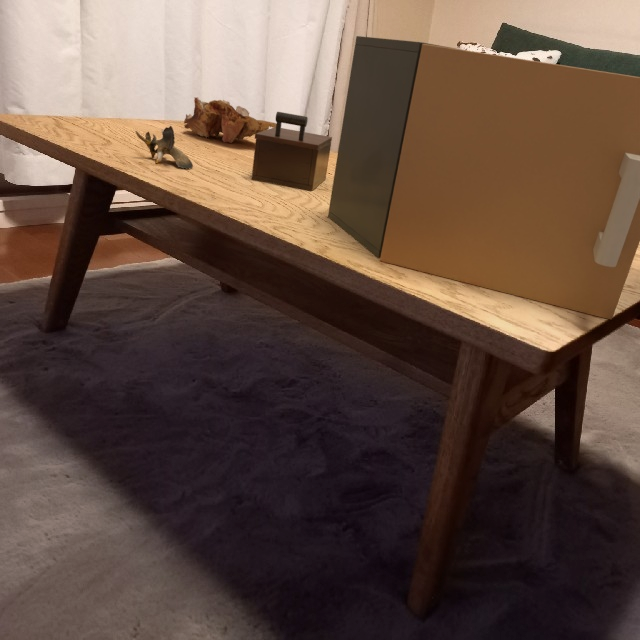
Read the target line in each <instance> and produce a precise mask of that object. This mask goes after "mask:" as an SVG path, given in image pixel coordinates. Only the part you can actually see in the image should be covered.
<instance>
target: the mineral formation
mask: <svg viewBox="0 0 640 640" xmlns="http://www.w3.org/2000/svg"><path fill="white" fill-rule="evenodd" d="M193 102H194V108H193V115H192V114H191V113H189V114H187V113H186V114H185V118H184V120H183V126H184V128H185V129H190V131H191V133H196V134H197V135H198V136H199V137H205V138H206V137H208V138H210V137H211V136H214V135H215V137H216V138H219V137H220V133H221V134H222V135H221V137H222V139H221V140H222V141H223V143H225V142H226V143H229V144H232V143H233V142H234V141H235V140H236V139H237V140H243V139H245V138H247V137H248V138H250V137H253V136H255V134H256V133H259V132H262V131H265V130H268V129H271V128H274V127H276V124H277V122H272V121H267V120H262V119H256V118H254V117H252V116H250V112H249V111H248V110H247V108H245V107H242V106H240V105H237V106H235V107H234V106H233V105H232V104H231V103H230V101H228V100H227V101H226V100H224V99H218V100H216V99H214V100H211V101H208V102H206V101H202V100H201V99H200V98H199V97H194V100H193Z"/></svg>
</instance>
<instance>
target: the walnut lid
mask: <svg viewBox="0 0 640 640" xmlns="http://www.w3.org/2000/svg"><path fill="white" fill-rule="evenodd" d="M308 120H309V119H308V116H305V115H300V114H293V113H287V112H281V111H276V114H275V123H276V127H274V128H273V127H271V128H269V129H267V130H265V131H262V132H259V133H256V134H254V139H255V140H256V139H260V140H266V141H271V142H277V143H282V144H288V145H293V146H299V147H304V148H309V149H315V150H318V149H319V148H321V147H323V146H325V145H326V144H328V143H330V142H331V143H332V140H333V136H328V135H323V134H318V133H311V132H305V131H306V127H307V125H308ZM282 124H286V125H287V124H288V125H293V126H297V127H299V130H294V129H290V128H284V127H282Z"/></svg>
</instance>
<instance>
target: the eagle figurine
mask: <svg viewBox="0 0 640 640" xmlns="http://www.w3.org/2000/svg"><path fill="white" fill-rule="evenodd" d="M150 133H151V132H150V131H147V132H146V133H145V136H144V137H143V136H142V134H140V133H139V131H137V130H135V134H136V136H137V138H138V139H140V140H141V141H142V142H143V143H144V144H145V145H146V146H147V149H148V150H149V153H150V155H151V158H152V159H154V158H155V156H156V160H155V164H156V163H157V164H158V163H159V162H162V160H163V158H164V156H165V155H170V156H171V158H172V159H173V160H174V161H175V164H176V166H177V168H181V169H184V168H190V169H192V168H193V167H194V164H193V162H192V160H191V159H190V157H188V156H187V155H186V154H185V152H183V151H182V150H181V149H179V148H177V147H175V143H176V142H175V139H176V137H175V131H174V128H173V126H172V125H169V126H168V127H165V128H164V129H163V128H161V134H162V138H160V139H157V137H156V135H155V134H154V133H153V134H152V136H151V134H150ZM156 147H157V148H156Z"/></svg>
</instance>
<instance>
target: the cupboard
mask: <svg viewBox="0 0 640 640" xmlns="http://www.w3.org/2000/svg"><path fill="white" fill-rule="evenodd" d="M355 37H356V38H355V43H354V50H353V55H352V60H351V61H352V62H351V68H350V74H349V81H348V87H347V94H346V99H345V104H344V105H345V106H344V111H343V118H342V124H341V130H340V138H339V144H338V150H337V156H336V162H335V168H334V175H333V181H332V188H331V195H330V201H329V207H328V213H327V218H328V219H330V220H331V221H332V222H333V223H335V225H337V226H338V227H339V228H341V229H342V230H343V231H344V232H345V233H346V234H348V235H349V236H350V237H351V238H352V239H354V240H355V241H356V242H357V243H359V244H360V245H361V246H362V247H363V248H365V249H366V250H367V251H368V252H369V253H371V254H372V255H373V256H375V257H376V258H377V259H380V257H381V252H382V247H383V242H384V237H385V232H386V227H387V222H388V216H389V211H390V206H391V201H392V196H393V191H394V186H395V181H396V176H397V171H398V165H399V160H400V155H401V150H402V145H403V140H404V135H405V130H406V125H407V120H408V115H409V109H410V104H411V99H412V94H413V89H414V84H415V79H416V74H417V69H418V64H419V58H420V53H421V48H422V44H428V45H434V46H441V47H447V48H452V47H451V46H444V45H440V44H433V43H428V42H422V41H414V40H403V39H392V38H383V37H371V36H362V35H356V36H355ZM453 48H454V49H457V48H456V47H453ZM459 49H460V50H463V49H461V48H459Z"/></svg>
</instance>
